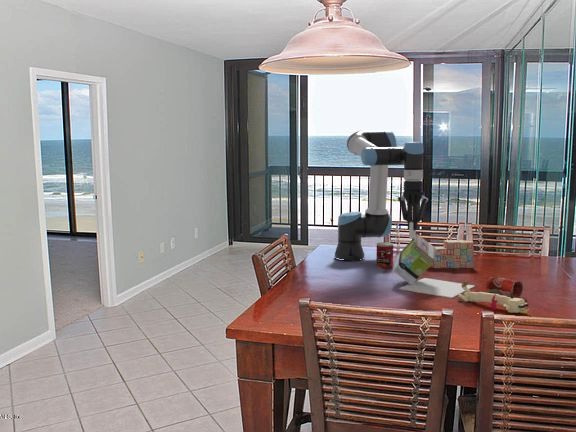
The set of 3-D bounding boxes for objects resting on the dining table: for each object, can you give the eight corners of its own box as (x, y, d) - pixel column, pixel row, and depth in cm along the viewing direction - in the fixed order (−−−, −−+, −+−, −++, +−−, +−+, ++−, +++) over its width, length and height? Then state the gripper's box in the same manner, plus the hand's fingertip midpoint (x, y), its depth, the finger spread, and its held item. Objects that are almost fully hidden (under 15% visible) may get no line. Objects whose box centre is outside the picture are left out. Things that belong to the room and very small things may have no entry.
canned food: (374, 267, 261) (374, 244, 260) (379, 264, 268) (379, 241, 267) (389, 269, 257) (390, 245, 256) (395, 265, 264) (395, 242, 263)
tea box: (411, 286, 225) (436, 260, 219) (392, 270, 225) (415, 244, 219) (413, 271, 239) (436, 247, 233) (394, 257, 239) (417, 232, 233)
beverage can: (493, 290, 217) (494, 274, 216) (522, 297, 208) (523, 279, 207) (483, 294, 213) (484, 277, 212) (512, 300, 203) (513, 282, 203)
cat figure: (454, 306, 202) (520, 316, 182) (453, 282, 201) (519, 290, 182) (469, 301, 208) (535, 310, 189) (468, 278, 207) (534, 285, 188)
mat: (399, 289, 221) (399, 288, 221) (424, 278, 238) (424, 277, 238) (451, 298, 207) (451, 297, 207) (474, 286, 223) (474, 285, 223)
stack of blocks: (427, 268, 258) (427, 242, 257) (423, 265, 264) (424, 240, 263) (473, 268, 258) (473, 242, 256) (468, 265, 264) (469, 239, 263)
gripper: (394, 180, 226) (393, 237, 229) (423, 181, 218) (422, 240, 220) (403, 179, 232) (402, 235, 234) (432, 180, 223) (431, 238, 226)
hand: (412, 237), depth 227 cm, fingers closed
